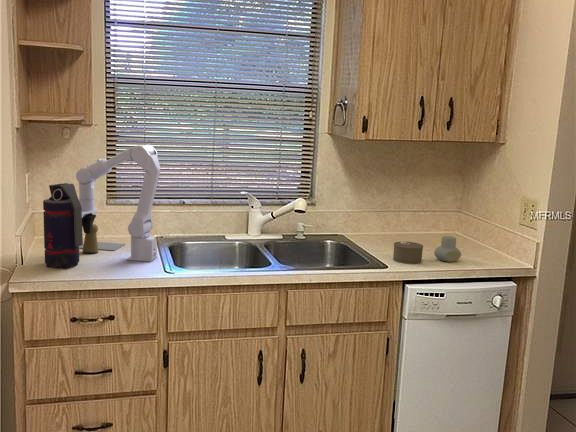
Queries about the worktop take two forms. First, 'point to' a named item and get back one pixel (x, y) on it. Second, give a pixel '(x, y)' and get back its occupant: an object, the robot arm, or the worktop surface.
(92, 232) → the cork
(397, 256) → the can
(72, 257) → the grenade
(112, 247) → the mat
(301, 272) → the worktop surface
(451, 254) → the air freshener
